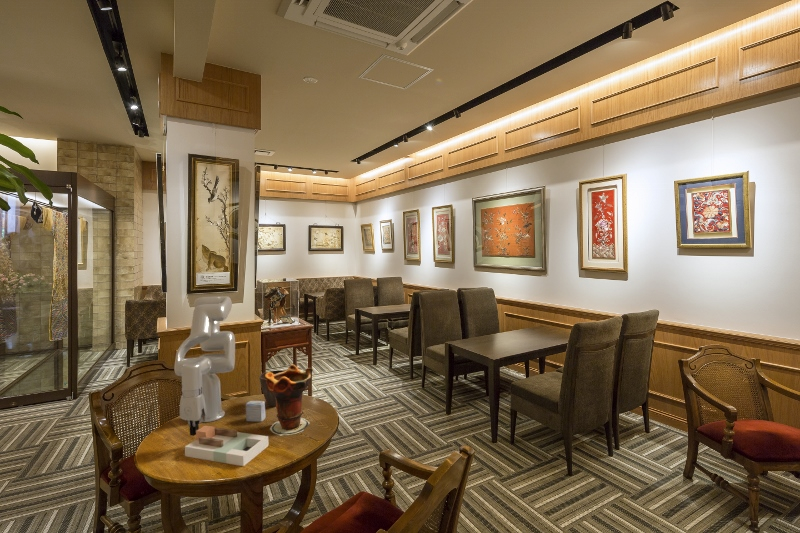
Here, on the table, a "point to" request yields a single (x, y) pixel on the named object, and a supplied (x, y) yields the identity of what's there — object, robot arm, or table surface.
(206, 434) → the block
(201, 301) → the robot arm
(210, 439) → the channel walls
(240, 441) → the deck
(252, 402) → the medicine box
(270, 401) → the plant pot
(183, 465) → the table surface
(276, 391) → the decorative vase
